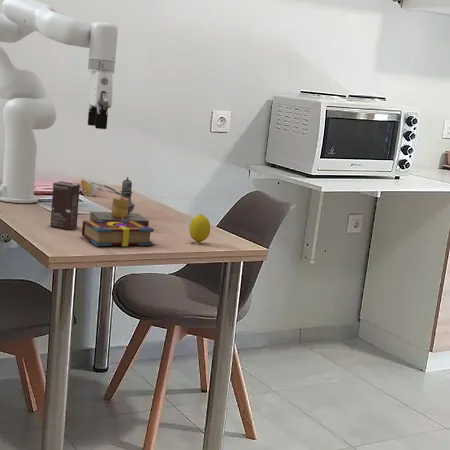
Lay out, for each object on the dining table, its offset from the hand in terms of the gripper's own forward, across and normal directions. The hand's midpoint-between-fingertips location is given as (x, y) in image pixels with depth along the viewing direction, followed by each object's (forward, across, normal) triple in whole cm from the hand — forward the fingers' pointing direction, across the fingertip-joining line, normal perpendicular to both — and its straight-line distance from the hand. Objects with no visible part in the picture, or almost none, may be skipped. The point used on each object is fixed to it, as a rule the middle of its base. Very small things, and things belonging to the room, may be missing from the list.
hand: (96, 127), depth 217 cm
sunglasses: (+26, +41, -13) cm, 51 cm away
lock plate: (+26, -14, -5) cm, 30 cm away
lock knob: (+23, -14, -5) cm, 28 cm away
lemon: (+26, -33, -22) cm, 48 cm away
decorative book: (+26, -33, 0) cm, 42 cm away
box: (+26, -17, +11) cm, 33 cm away
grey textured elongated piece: (+26, +2, -11) cm, 29 cm away
